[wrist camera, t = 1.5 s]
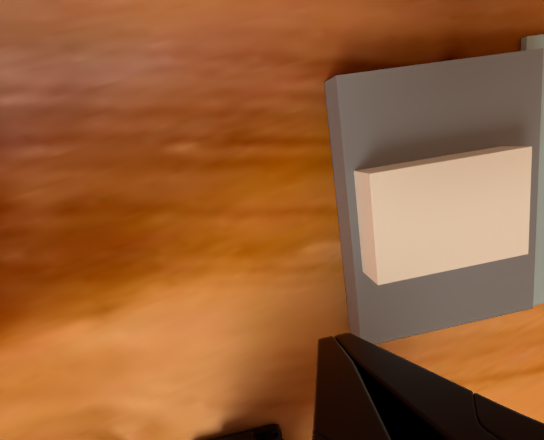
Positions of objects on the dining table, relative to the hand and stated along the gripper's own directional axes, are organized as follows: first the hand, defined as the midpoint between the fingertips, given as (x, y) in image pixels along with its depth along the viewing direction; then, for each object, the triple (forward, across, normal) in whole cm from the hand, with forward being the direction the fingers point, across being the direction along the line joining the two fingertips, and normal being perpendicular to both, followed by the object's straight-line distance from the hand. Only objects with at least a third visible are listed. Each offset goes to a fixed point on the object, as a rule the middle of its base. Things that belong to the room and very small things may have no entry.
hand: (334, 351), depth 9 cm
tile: (+10, -10, 0) cm, 13 cm away
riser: (+12, -10, 0) cm, 16 cm away
